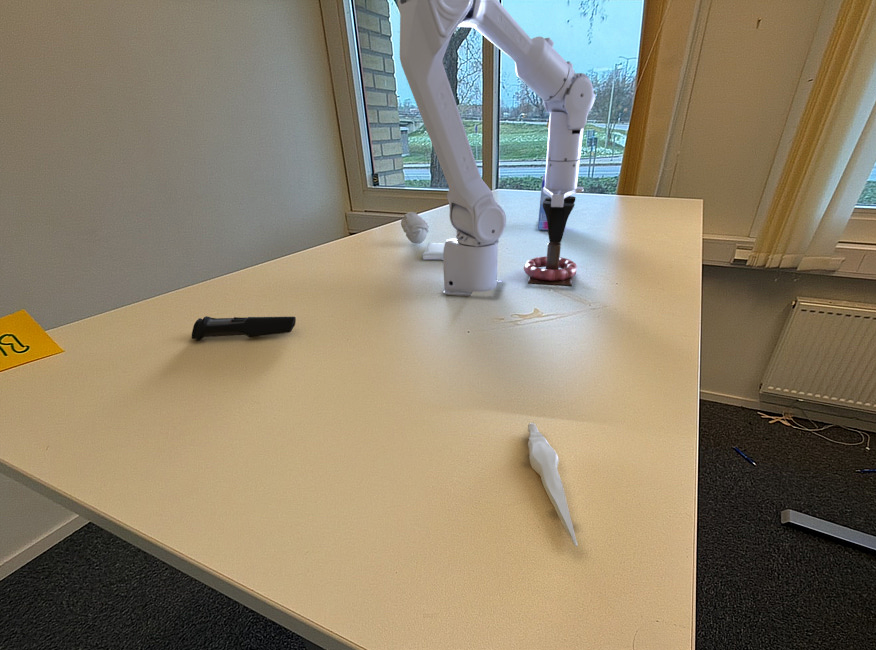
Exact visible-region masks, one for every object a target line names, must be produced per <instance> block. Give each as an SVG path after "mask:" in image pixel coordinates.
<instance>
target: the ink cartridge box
mask: <svg viewBox="0 0 876 650" xmlns="http://www.w3.org/2000/svg"><path fill="white" fill-rule="evenodd" d="M545 174H546V173H545ZM545 174H543V175H542V178H541V179H542V180H541V188H540V199H539V209H538V218H537V219H538V220H537V230H538V231H548V223H547V218H546V214H545V211H544V209H543V206H542V204H543V201H545V198H547V197H549V196H548V195H547V194H545V193H544V192H543V187H544V186H545Z"/></svg>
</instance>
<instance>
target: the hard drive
mask: <svg viewBox="0 0 876 650" xmlns="http://www.w3.org/2000/svg"><path fill="white" fill-rule="evenodd" d="M444 245H445V242H428V243H427V245H426V246H425V248H424V250H423V252H422V260H429V261H430V260H431V261H432V260H433V261H434V260H442V261H443V251H444Z"/></svg>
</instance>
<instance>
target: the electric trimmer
mask: <svg viewBox="0 0 876 650" xmlns="http://www.w3.org/2000/svg"><path fill="white" fill-rule="evenodd" d="M296 321H297V318H296V316H248V317H237V316H234V317H218V318H217V317H211V316H208V315H206V316H203V318H202V317H199V318H198V319H196V321H195V322H194V324H193V327H192V331H191V339H193V340H195V341H200V340H202V339H203V338H209V337H211V338H213V337H230V336H247V337H248V338H255V337H263V336H271V335H279V334H285V333H286V334H287V333H291V332H292V331H293V329H294V328H295V326H296Z"/></svg>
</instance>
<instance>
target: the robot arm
mask: <svg viewBox="0 0 876 650" xmlns="http://www.w3.org/2000/svg"><path fill="white" fill-rule="evenodd" d="M396 4H397V8H398V11H399V62H400V64H401V68H402V71H403V73H404V75H405V78H406V80H407V83H408V86H409V88H410V91H411V93H412V95H413V98H414V102H415V104H416V107H417V109H418V111H419V114H420V117H421V120H422V122H423V125H424V126H425V130H426V132H427V134H428V137H429V140H430V142H431V145H432V147H433V150H434V153H435V155H436V157H437V161H438V163H439V165H440V168H441V171H442V173H443V176H444V178H445V179H444V180H445V181H446V183H447V186H448V191H447V194H446V199H447V202H448V206H449V222H450V224H451V226H452V227H453V229H455V230H456V237H455V238H449V239H446V240H445V242H444V243H445V245H444V251H443V260H442V264H443V268H442V269H443V282H444V283H443V284H444V285H443V286H444V290H443V295H447V296H448V295H449V296H462V297H471V296H472V295H473V293H478V292H479V293H480V292H481V293H482V292H487V291H492V290H494V289H495V288H496V287H498V283H502V282H503V280H500V279H498V256H499V255H498V252H499V250H498V248H499V242H500V241H499V239H500V238H501V236H502V235H503V234H504V232H505V229H506V225H507V215H506V213H505V210H504V209H503V207H502V206H501V205H500V204H499V203H498V202H497V201H496V199H495V196H494V193H493V191H492V190H491V188H490V187H489V186H488V185H487V183H486V182H485V181H484V180H483V179H482V177H481V174H480V171H479V168H478V164H477V162H476V159H475V156H474V153H473V150H472V147H471V143H470V141H469V139H468V135H467V132H466V128H465V126H464V123H463V120H462V117H461V113H460V110H459V108H458V105H457V102H456V99H455V96H454V93H453V90H452V87H451V84H450V81H449V78H448V75H447V72H446V69H445V66H444V61H443V60H444V57H445V55H446V52H447V49H448V47H449V43H450V41H451V38H452V35H453V34H454V32H456V31H457V29H458V28H473V29H475V30H476V31H477V32H478V33H480V34H481V35H482V36H484V38H485V39H487V40H488V41H489V42H491V43H492V44H493V45H494V46H495V47H496V48H497V49H499V50H501V52H503V53H504V54H505V55H506V56H508V57H509V58H510V60H512V61H514V64H515V74H516V77H517V78H518V79H520V81H521V82H523V83H524V84H525V85H526V86H527V87H528V88H529V89H530V90H531V91H532V92H533V93H535V94H536V95H537V97H539V98H540V99H541V100H542V102H543V107H544V110H545V112H546V113H547V114H549V122H548V136H547V148H546V149H547V150H546V162H545V186H544V187H543V192H544V193H545V194H547V195H548V196H549V197H547V198H545V201H543V204H542V206H543V209H544V211H545V214H546V218H547V223H548V230H547V233H548V240H549V243H550V242H559V243H561V242H562V240H563V237H564V235H565V234H564V233H565V229H566V226H567V222H568V219H569V217H570V215H571V213H572V211H573V209H574V208H575V202H576V199H577V198H576V196H574V195H576V194H580V193H584V186H578V180H579V171H580V163H581V154H582V145H583V137H584V129H585V126H586V125H587V121H588V115H589V113H590V112H591V110H592V108H593V106H594V103H595V100H596V96H597V95H596V94H595V93H594V86H593V83H592V81H591V79H590V77H589V76H588V75H587V74H586V73H583V72H577V73H576V72H575V69H574V64H573V63H572V62H571V61H566V60H565V59H564V58H563V57H562V56H561V55H560V54H559V53H558V51H557V50H556V49H555V48H554V45H555V42H554V41H553V40H552V39H551V38H550V37H545V38H544V37H543V36H535V37H532V38H531V37H530V36H529V35H528V33H526V31H525V30H524V29H523V28H522V27H521V26H520V24H519V23H518V22H517V21H516V20H515V19H514V17H513V16H512V15H511V14H510V13H509V11H508V10H507V9H506V8H505V7H504V5H502V3H501V2H500V1H499V0H397V3H396ZM561 244H562V243H561Z"/></svg>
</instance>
